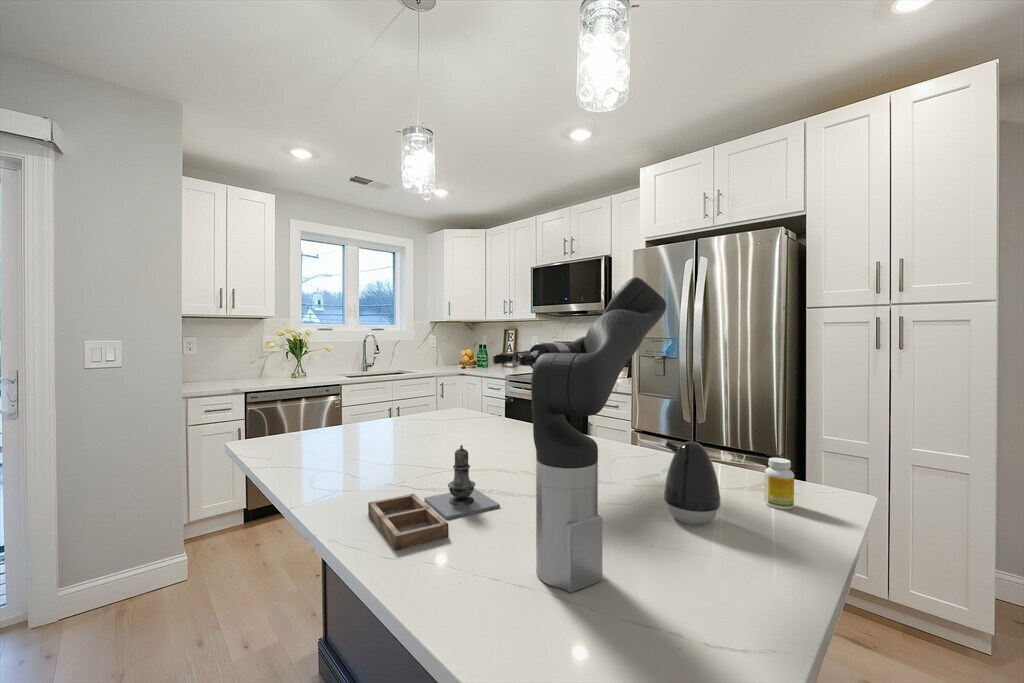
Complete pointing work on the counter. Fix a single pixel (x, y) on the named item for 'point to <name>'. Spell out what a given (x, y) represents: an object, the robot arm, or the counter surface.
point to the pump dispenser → (691, 485)
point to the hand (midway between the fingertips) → (507, 360)
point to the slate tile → (453, 511)
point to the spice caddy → (407, 521)
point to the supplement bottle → (779, 484)
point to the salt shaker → (461, 480)
